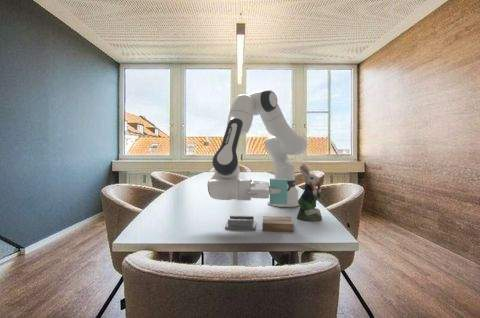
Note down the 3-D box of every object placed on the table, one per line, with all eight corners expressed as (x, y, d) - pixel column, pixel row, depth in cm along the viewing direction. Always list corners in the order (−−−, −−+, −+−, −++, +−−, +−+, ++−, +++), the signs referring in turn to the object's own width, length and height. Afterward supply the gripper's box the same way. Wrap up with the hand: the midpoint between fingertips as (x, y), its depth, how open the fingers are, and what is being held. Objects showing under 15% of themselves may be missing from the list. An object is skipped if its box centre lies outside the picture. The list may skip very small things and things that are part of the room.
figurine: (321, 225, 138) (330, 169, 136) (291, 220, 141) (300, 165, 138) (320, 219, 149) (329, 167, 146) (292, 214, 151) (300, 162, 149)
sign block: (269, 202, 131) (269, 178, 130) (286, 202, 130) (286, 178, 129) (269, 203, 128) (269, 179, 127) (287, 204, 127) (287, 179, 126)
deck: (263, 223, 136) (263, 216, 135) (291, 223, 134) (291, 217, 134) (262, 230, 124) (262, 223, 123) (293, 231, 122) (293, 224, 122)
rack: (228, 222, 136) (228, 214, 136) (256, 223, 135) (256, 215, 135) (225, 229, 126) (225, 220, 126) (254, 229, 125) (254, 221, 125)
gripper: (244, 185, 119) (281, 186, 118) (248, 178, 139) (279, 179, 138) (244, 202, 119) (281, 202, 118) (248, 193, 140) (279, 193, 139)
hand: (280, 190), depth 128 cm, fingers closed on sign block, 3 cm apart
